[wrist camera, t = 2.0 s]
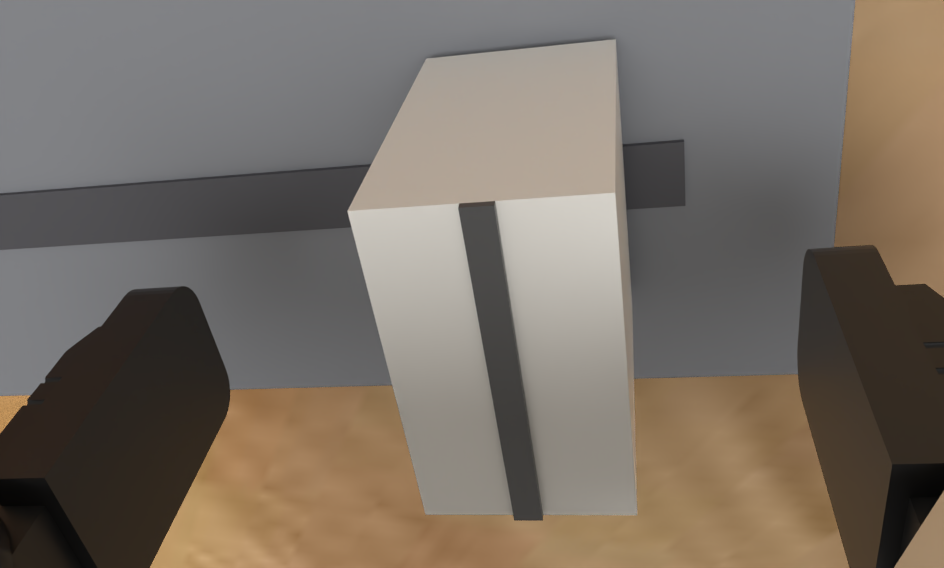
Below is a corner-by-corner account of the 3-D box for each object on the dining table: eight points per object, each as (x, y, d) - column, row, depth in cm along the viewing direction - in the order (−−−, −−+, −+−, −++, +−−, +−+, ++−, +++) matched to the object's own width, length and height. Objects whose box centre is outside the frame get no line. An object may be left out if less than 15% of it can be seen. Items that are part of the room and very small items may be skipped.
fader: (616, 38, 13) (614, 196, 9) (632, 305, 16) (637, 521, 12) (425, 58, 14) (345, 215, 10) (472, 312, 17) (424, 520, 13)
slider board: (836, -160, 14) (870, -137, 12) (804, 312, 18) (824, 380, 17) (-385, 11, 18) (-496, 45, 16) (-155, 351, 23) (-220, 407, 21)
